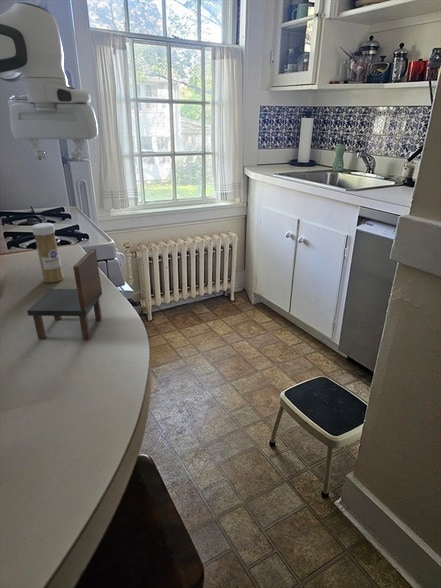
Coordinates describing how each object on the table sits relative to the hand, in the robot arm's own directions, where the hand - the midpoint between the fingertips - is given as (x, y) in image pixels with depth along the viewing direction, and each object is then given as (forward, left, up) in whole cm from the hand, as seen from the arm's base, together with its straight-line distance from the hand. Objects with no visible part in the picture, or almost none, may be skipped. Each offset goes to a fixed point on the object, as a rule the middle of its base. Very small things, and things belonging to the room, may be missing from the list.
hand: (59, 160), depth 92 cm
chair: (+11, -34, -26) cm, 44 cm away
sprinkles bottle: (-2, -11, -26) cm, 29 cm away
